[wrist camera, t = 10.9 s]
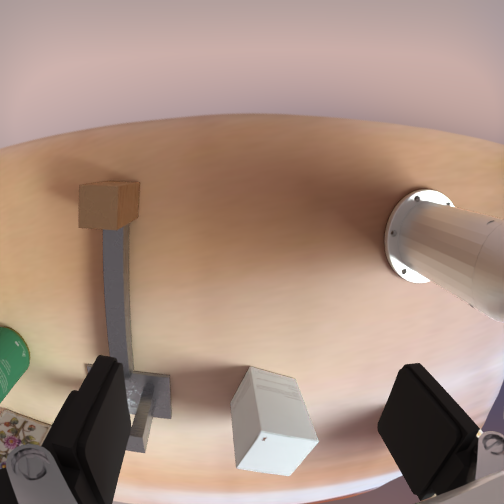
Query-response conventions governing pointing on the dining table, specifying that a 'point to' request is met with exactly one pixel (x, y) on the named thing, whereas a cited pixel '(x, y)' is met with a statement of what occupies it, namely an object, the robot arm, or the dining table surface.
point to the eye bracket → (145, 405)
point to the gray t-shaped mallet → (113, 256)
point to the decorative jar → (19, 433)
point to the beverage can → (11, 359)
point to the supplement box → (270, 424)
